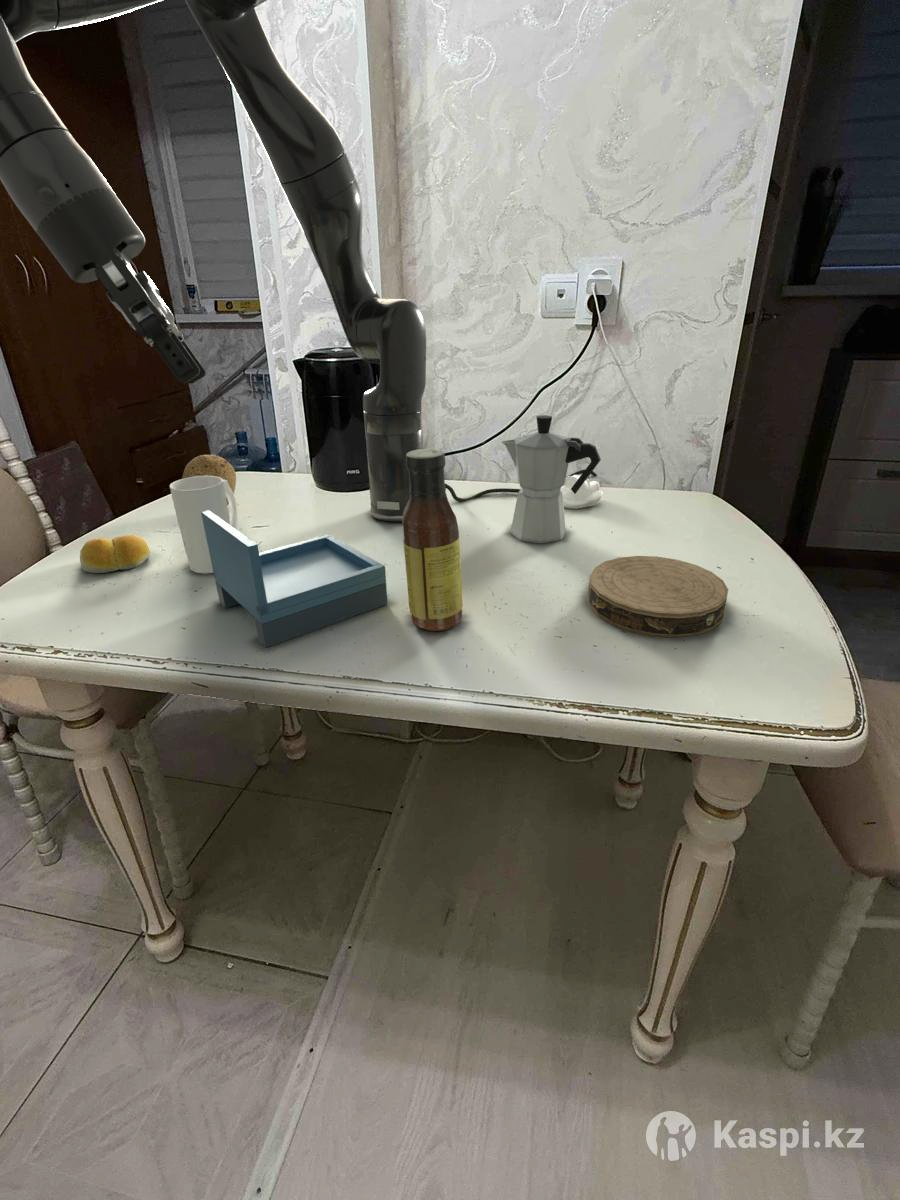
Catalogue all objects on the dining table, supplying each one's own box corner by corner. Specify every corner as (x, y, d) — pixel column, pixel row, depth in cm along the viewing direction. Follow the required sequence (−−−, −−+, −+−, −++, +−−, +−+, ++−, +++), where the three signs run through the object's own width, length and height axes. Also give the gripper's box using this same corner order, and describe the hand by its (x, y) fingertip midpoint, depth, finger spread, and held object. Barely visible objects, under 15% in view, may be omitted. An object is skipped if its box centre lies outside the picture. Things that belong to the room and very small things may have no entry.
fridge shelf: (332, 568, 87) (323, 485, 81) (387, 604, 77) (381, 512, 72) (219, 602, 78) (200, 511, 73) (266, 648, 68) (248, 546, 63)
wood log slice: (560, 599, 78) (562, 578, 76) (641, 566, 86) (644, 546, 85) (670, 653, 66) (674, 628, 65) (750, 608, 75) (755, 586, 73)
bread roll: (154, 566, 89) (147, 540, 87) (83, 579, 85) (74, 552, 83) (149, 546, 95) (143, 522, 93) (83, 558, 91) (75, 532, 90)
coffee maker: (490, 537, 96) (492, 418, 88) (507, 519, 104) (510, 407, 95) (587, 550, 91) (598, 425, 83) (597, 530, 99) (609, 413, 90)
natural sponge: (191, 524, 104) (178, 464, 99) (183, 509, 111) (170, 453, 106) (246, 514, 108) (236, 457, 103) (235, 500, 115) (225, 446, 110)
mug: (216, 577, 85) (198, 492, 79) (177, 571, 87) (157, 487, 81) (261, 550, 93) (248, 471, 88) (225, 545, 95) (210, 467, 90)
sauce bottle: (469, 612, 75) (469, 447, 66) (452, 637, 70) (450, 462, 61) (418, 604, 77) (412, 443, 68) (398, 628, 72) (388, 457, 63)
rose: (614, 474, 111) (590, 487, 104) (612, 498, 113) (588, 513, 106) (564, 465, 116) (537, 477, 109) (562, 488, 118) (536, 502, 111)
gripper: (92, 161, 48) (225, 356, 55) (125, 208, 61) (229, 361, 68) (7, 211, 48) (152, 401, 55) (58, 248, 61) (171, 398, 67)
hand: (195, 379), depth 61 cm, fingers open, 8 cm apart
